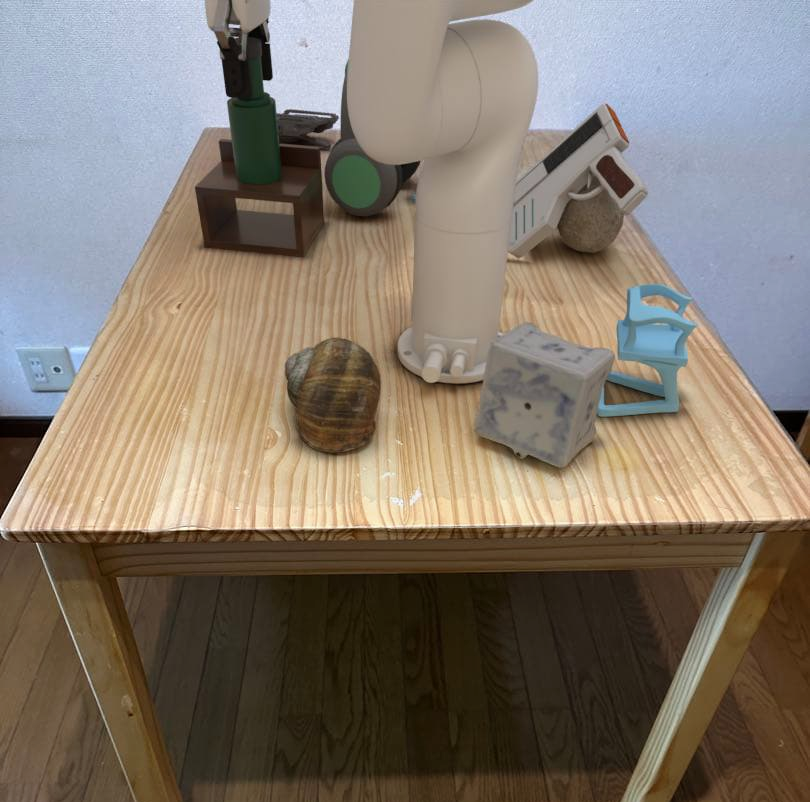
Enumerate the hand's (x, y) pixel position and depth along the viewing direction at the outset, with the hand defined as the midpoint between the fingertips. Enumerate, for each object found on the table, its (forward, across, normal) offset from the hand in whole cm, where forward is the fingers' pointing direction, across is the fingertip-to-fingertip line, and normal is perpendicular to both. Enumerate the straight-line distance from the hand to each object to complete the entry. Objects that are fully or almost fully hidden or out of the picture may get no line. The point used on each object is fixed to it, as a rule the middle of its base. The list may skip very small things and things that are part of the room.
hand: (250, 87), depth 97 cm
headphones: (+19, -16, +12) cm, 28 cm away
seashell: (+19, +41, +20) cm, 49 cm away
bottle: (+11, 0, 0) cm, 11 cm away
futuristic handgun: (+14, +6, +43) cm, 46 cm away
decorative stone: (+19, -5, +44) cm, 48 cm away
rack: (+19, 0, 0) cm, 19 cm away
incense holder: (+19, +40, +40) cm, 60 cm away
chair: (+19, +31, +50) cm, 62 cm away
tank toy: (+14, -39, -6) cm, 41 cm away
